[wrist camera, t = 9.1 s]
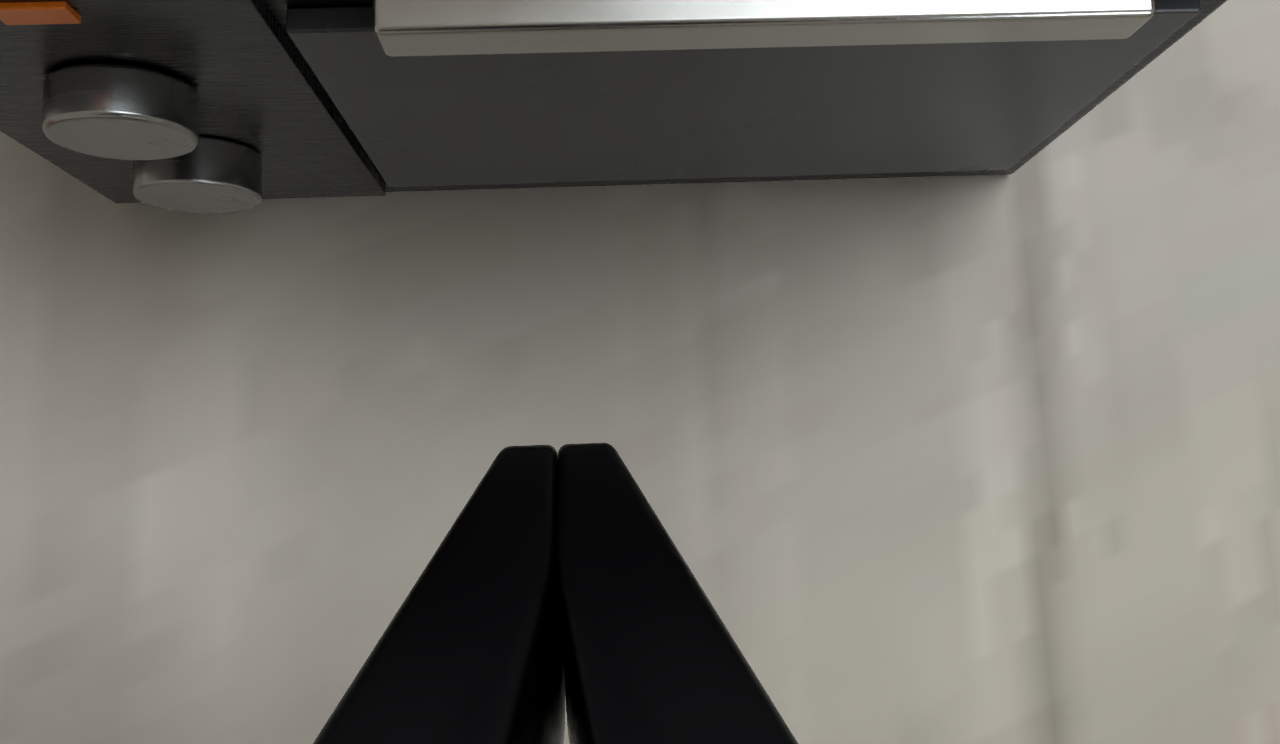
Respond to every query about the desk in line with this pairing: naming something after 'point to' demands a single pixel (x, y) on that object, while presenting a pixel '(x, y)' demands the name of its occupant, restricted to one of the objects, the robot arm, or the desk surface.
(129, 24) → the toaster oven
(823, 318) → the desk surface
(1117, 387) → the desk surface
